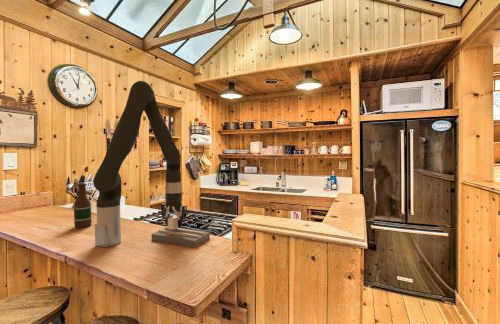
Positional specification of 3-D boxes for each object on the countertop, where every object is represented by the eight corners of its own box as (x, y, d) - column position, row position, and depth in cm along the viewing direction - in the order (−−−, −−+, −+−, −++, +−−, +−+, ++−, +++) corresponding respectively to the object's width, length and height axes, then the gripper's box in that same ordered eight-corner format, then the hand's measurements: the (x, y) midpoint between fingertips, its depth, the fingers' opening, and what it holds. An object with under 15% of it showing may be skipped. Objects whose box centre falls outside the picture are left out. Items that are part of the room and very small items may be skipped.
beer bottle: (83, 229, 130) (81, 184, 128) (70, 228, 131) (69, 184, 130) (95, 225, 137) (93, 182, 136) (83, 224, 139) (82, 182, 138)
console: (195, 247, 105) (195, 238, 105) (151, 240, 114) (151, 231, 114) (209, 238, 117) (209, 230, 116) (169, 232, 125) (168, 224, 125)
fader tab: (173, 233, 114) (172, 219, 114) (167, 232, 115) (167, 218, 115) (179, 230, 118) (179, 216, 118) (174, 229, 120) (174, 215, 119)
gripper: (155, 191, 115) (156, 226, 116) (181, 193, 110) (181, 230, 110) (166, 189, 122) (167, 222, 123) (190, 191, 117) (191, 225, 117)
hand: (173, 225), depth 117 cm, fingers open, 6 cm apart
